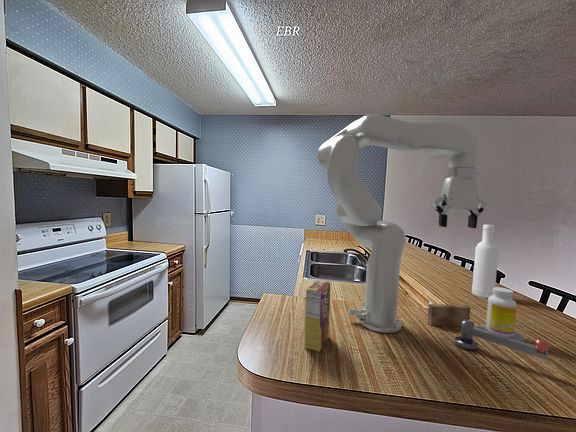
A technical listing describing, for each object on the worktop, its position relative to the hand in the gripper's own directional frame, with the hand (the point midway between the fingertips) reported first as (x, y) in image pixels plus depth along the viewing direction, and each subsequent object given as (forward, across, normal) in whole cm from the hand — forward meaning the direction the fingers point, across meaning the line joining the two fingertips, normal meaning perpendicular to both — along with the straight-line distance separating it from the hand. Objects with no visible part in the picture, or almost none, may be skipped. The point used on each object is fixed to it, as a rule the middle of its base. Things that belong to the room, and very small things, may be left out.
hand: (457, 227), depth 90 cm
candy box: (+31, +47, +18) cm, 59 cm away
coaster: (+30, -8, +11) cm, 33 cm away
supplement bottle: (+30, -8, +11) cm, 33 cm away
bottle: (+31, -29, -24) cm, 48 cm away
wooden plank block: (+30, +4, +5) cm, 31 cm away
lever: (+30, +3, +23) cm, 38 cm away
